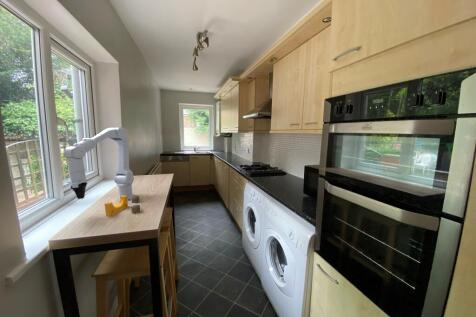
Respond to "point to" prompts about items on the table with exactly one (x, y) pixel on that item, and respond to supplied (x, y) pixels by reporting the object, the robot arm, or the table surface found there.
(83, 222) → the table surface
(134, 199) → the post
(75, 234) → the table surface
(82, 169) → the robot arm
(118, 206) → the pipe clamp
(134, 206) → the post
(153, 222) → the table surface
